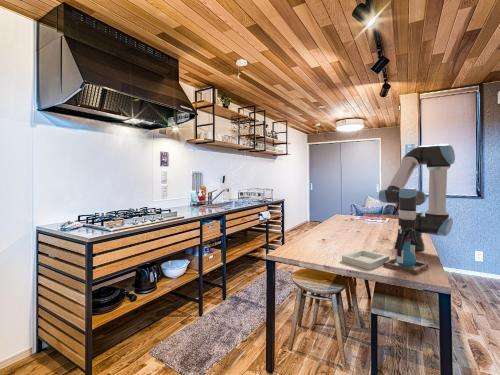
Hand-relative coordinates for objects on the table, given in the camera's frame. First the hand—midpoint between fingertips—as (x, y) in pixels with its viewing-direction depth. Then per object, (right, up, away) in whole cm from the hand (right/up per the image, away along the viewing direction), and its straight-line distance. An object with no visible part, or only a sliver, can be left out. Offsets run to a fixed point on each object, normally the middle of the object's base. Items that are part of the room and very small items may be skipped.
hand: (405, 259), depth 133 cm
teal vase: (0, -4, 0) cm, 4 cm away
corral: (0, -4, 0) cm, 4 cm away
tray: (-17, -3, +9) cm, 19 cm away
